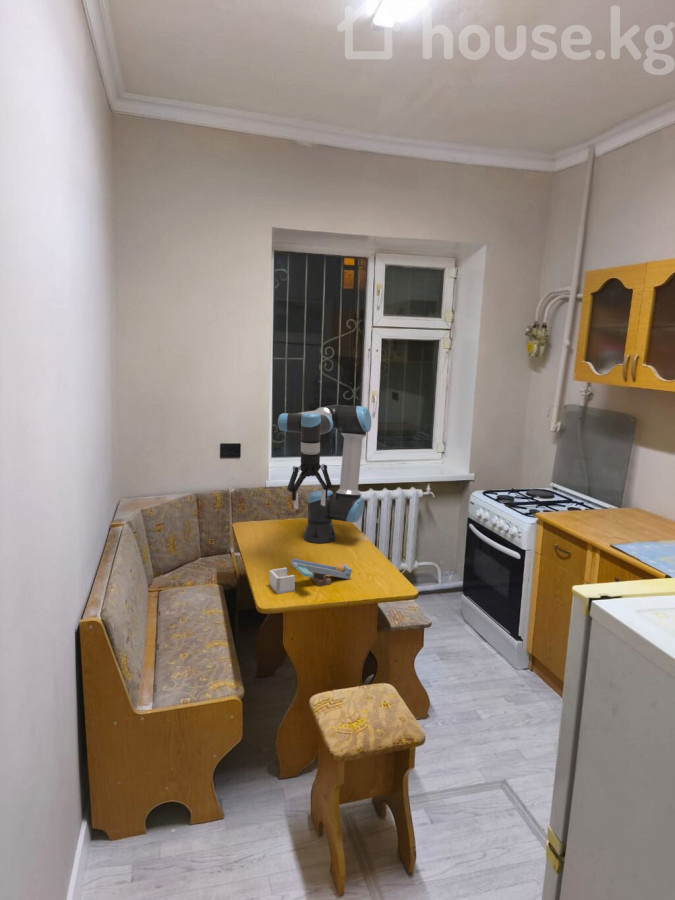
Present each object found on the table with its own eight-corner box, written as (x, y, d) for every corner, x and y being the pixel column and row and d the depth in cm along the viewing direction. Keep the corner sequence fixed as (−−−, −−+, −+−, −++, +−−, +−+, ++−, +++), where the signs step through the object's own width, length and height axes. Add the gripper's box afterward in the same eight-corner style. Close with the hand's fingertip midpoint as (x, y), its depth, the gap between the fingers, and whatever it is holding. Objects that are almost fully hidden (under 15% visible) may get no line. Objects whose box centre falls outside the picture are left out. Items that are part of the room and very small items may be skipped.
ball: (339, 572, 235) (343, 564, 235) (343, 575, 232) (347, 567, 232) (332, 569, 233) (336, 561, 233) (336, 572, 230) (340, 564, 230)
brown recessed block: (321, 575, 234) (321, 567, 234) (330, 584, 227) (331, 575, 226) (309, 577, 232) (310, 569, 232) (319, 586, 224) (319, 577, 224)
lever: (342, 573, 237) (345, 564, 237) (357, 585, 225) (360, 576, 225) (290, 563, 226) (293, 553, 225) (303, 575, 214) (306, 565, 214)
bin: (286, 581, 228) (286, 567, 227) (294, 590, 220) (294, 575, 219) (269, 584, 225) (269, 570, 224) (277, 593, 217) (277, 578, 216)
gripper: (333, 449, 236) (332, 501, 240) (278, 452, 226) (278, 507, 230) (341, 452, 230) (340, 506, 234) (285, 456, 219) (285, 512, 223)
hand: (309, 506), depth 232 cm, fingers open, 11 cm apart
